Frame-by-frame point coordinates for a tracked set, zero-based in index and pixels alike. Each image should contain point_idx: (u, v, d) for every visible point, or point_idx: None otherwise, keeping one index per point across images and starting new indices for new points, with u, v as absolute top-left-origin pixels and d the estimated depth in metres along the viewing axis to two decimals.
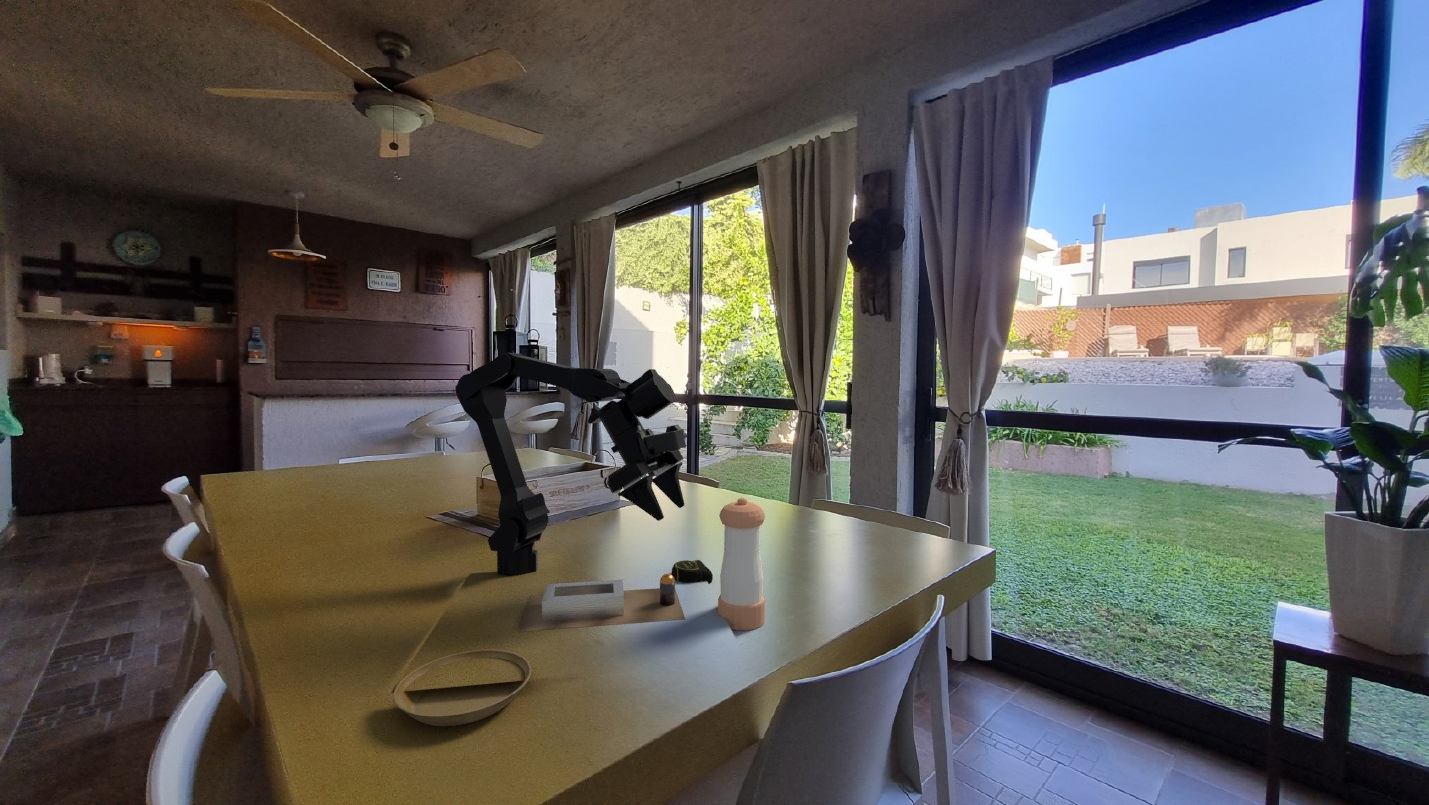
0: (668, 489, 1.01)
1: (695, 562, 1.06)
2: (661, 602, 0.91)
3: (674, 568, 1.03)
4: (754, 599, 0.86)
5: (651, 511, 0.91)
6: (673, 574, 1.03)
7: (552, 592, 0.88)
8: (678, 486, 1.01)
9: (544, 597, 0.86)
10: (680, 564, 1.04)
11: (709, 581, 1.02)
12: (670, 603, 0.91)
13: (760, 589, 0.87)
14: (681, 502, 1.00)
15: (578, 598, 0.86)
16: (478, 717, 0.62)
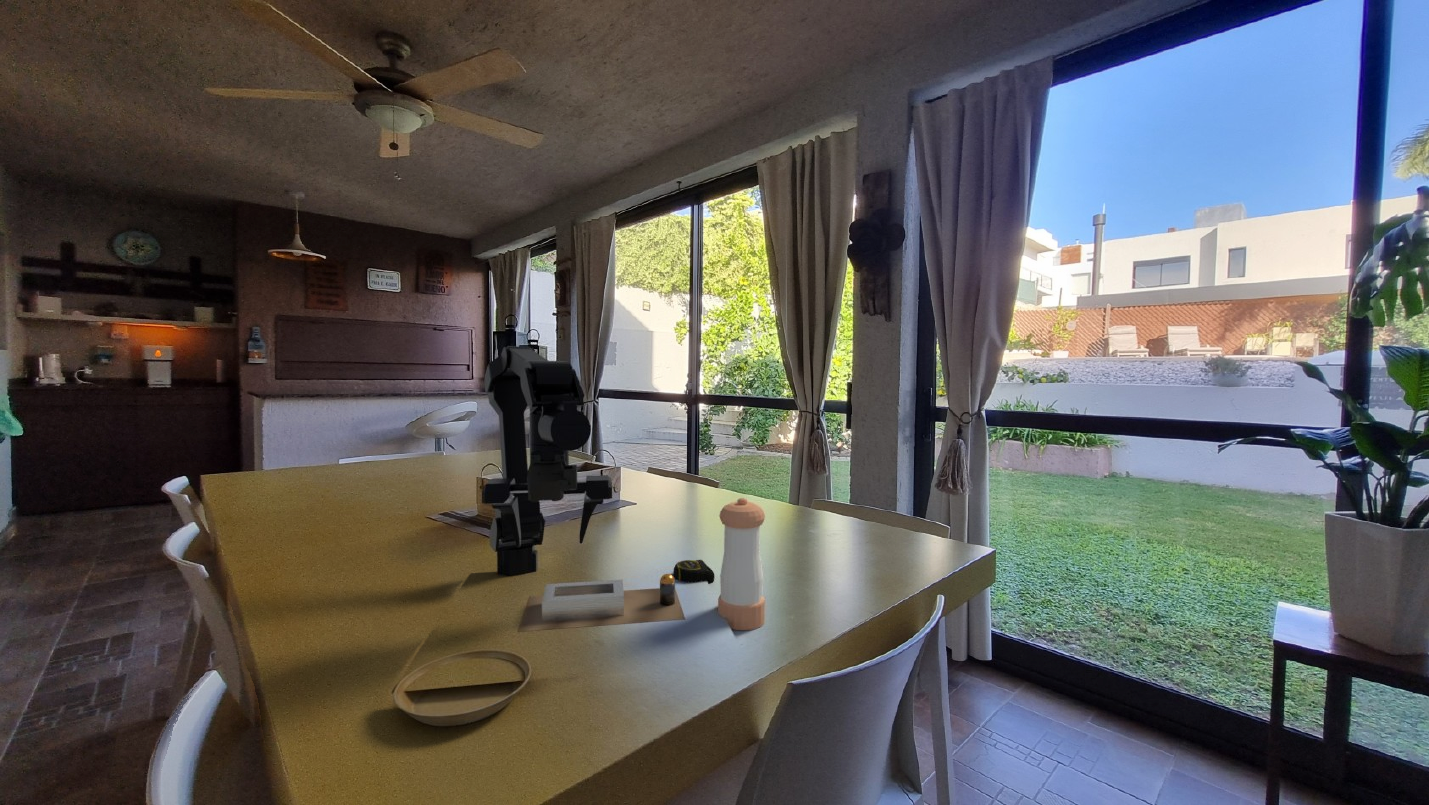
0: None
1: (697, 562, 1.06)
2: (661, 602, 0.91)
3: (676, 568, 1.03)
4: (754, 599, 0.86)
5: None
6: (675, 574, 1.03)
7: (552, 592, 0.88)
8: (583, 522, 0.88)
9: (544, 597, 0.86)
10: (682, 564, 1.05)
11: (711, 581, 1.02)
12: (670, 603, 0.91)
13: (760, 589, 0.87)
14: None
15: (578, 598, 0.86)
16: (478, 717, 0.62)
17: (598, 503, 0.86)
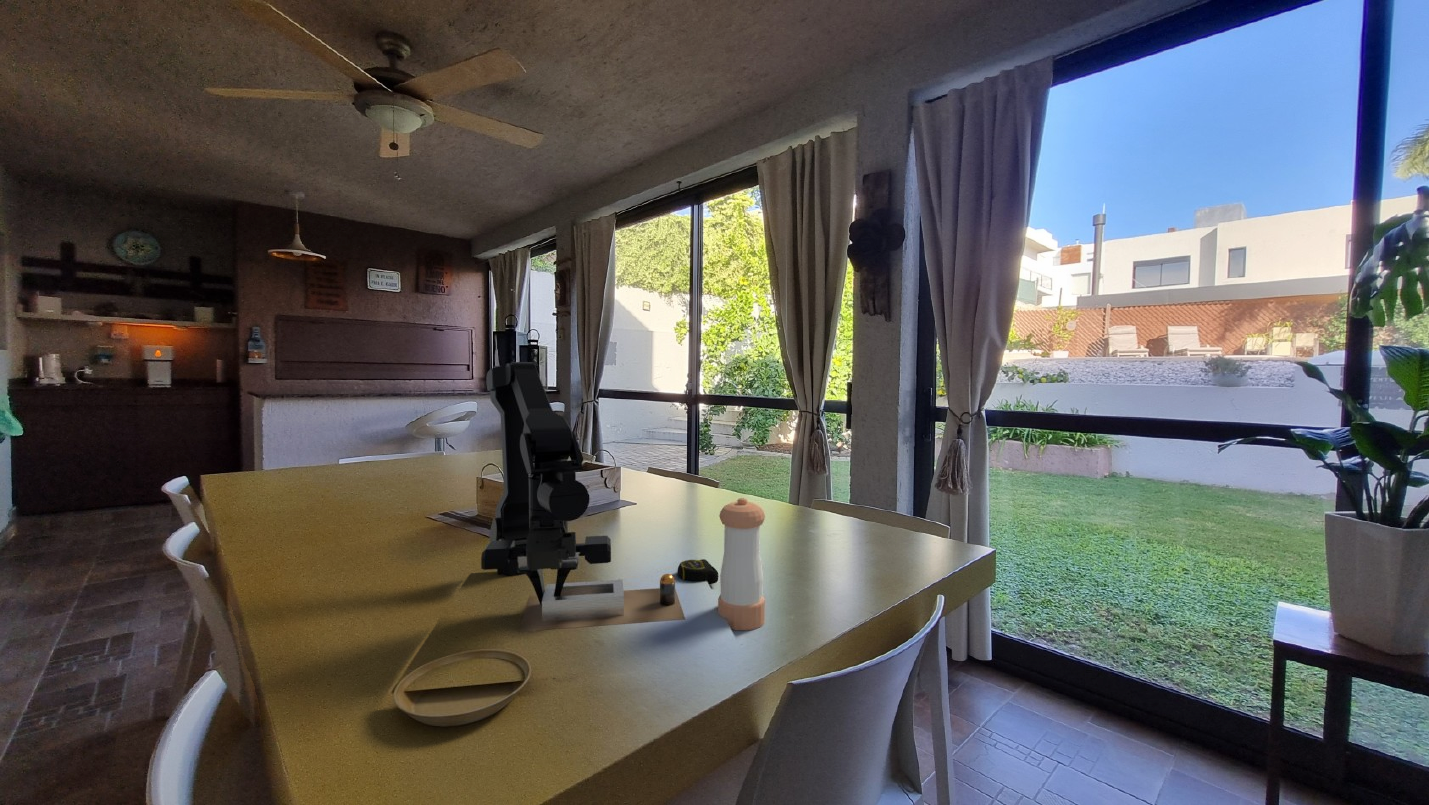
0: None
1: (701, 561, 1.06)
2: (661, 602, 0.91)
3: (680, 567, 1.03)
4: (754, 599, 0.86)
5: None
6: (679, 573, 1.03)
7: (552, 592, 0.88)
8: (557, 587, 0.87)
9: (544, 597, 0.86)
10: (686, 563, 1.05)
11: (715, 580, 1.02)
12: (670, 603, 0.91)
13: (760, 589, 0.87)
14: None
15: (578, 598, 0.86)
16: (478, 717, 0.62)
17: (572, 568, 0.86)
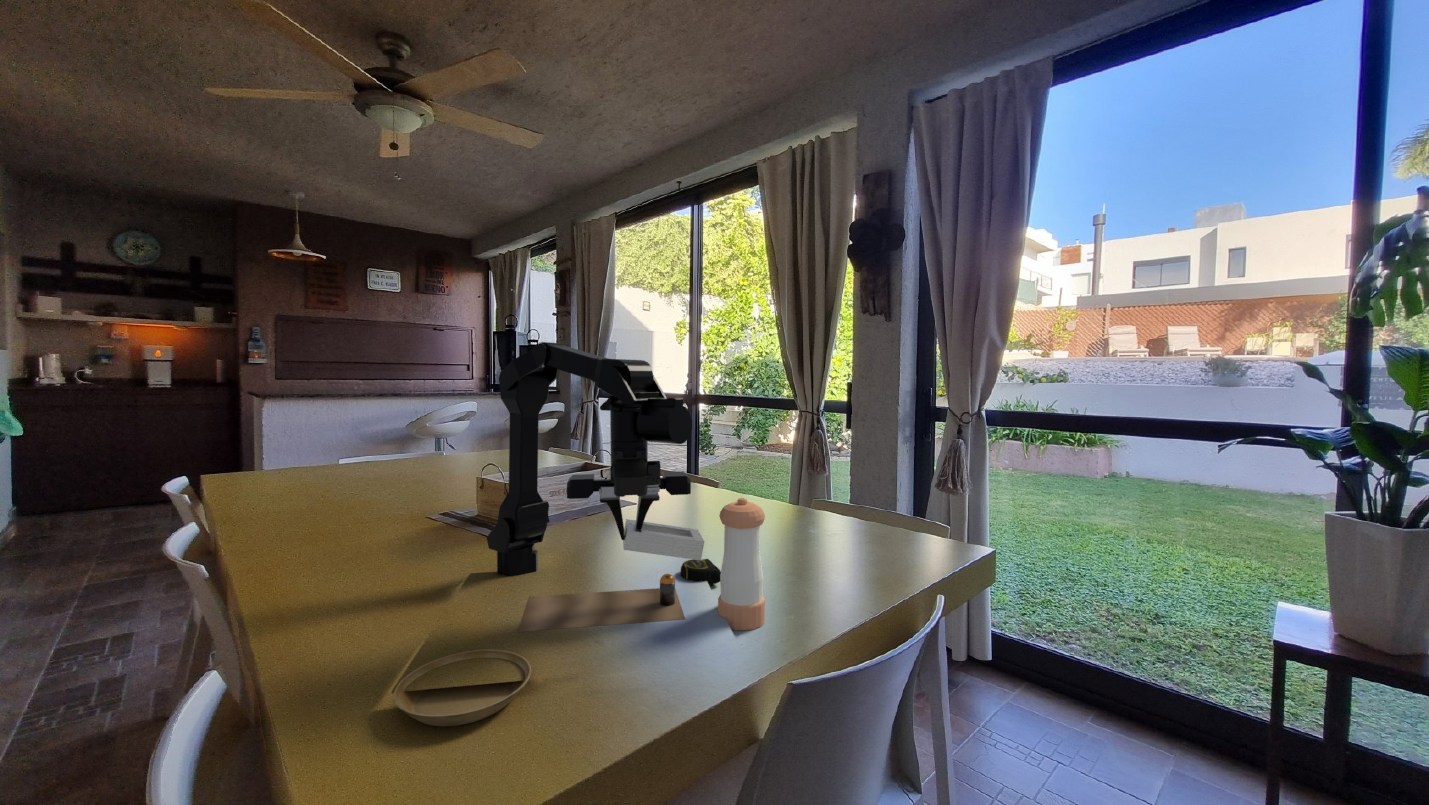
0: (638, 513, 0.91)
1: (704, 561, 1.07)
2: (661, 602, 0.91)
3: (683, 567, 1.03)
4: (754, 599, 0.86)
5: None
6: (682, 573, 1.03)
7: (634, 526, 0.90)
8: (639, 518, 0.89)
9: (628, 528, 0.88)
10: (689, 563, 1.05)
11: (718, 580, 1.02)
12: (670, 603, 0.91)
13: (760, 589, 0.87)
14: None
15: (661, 535, 0.87)
16: (478, 717, 0.62)
17: (655, 499, 0.87)
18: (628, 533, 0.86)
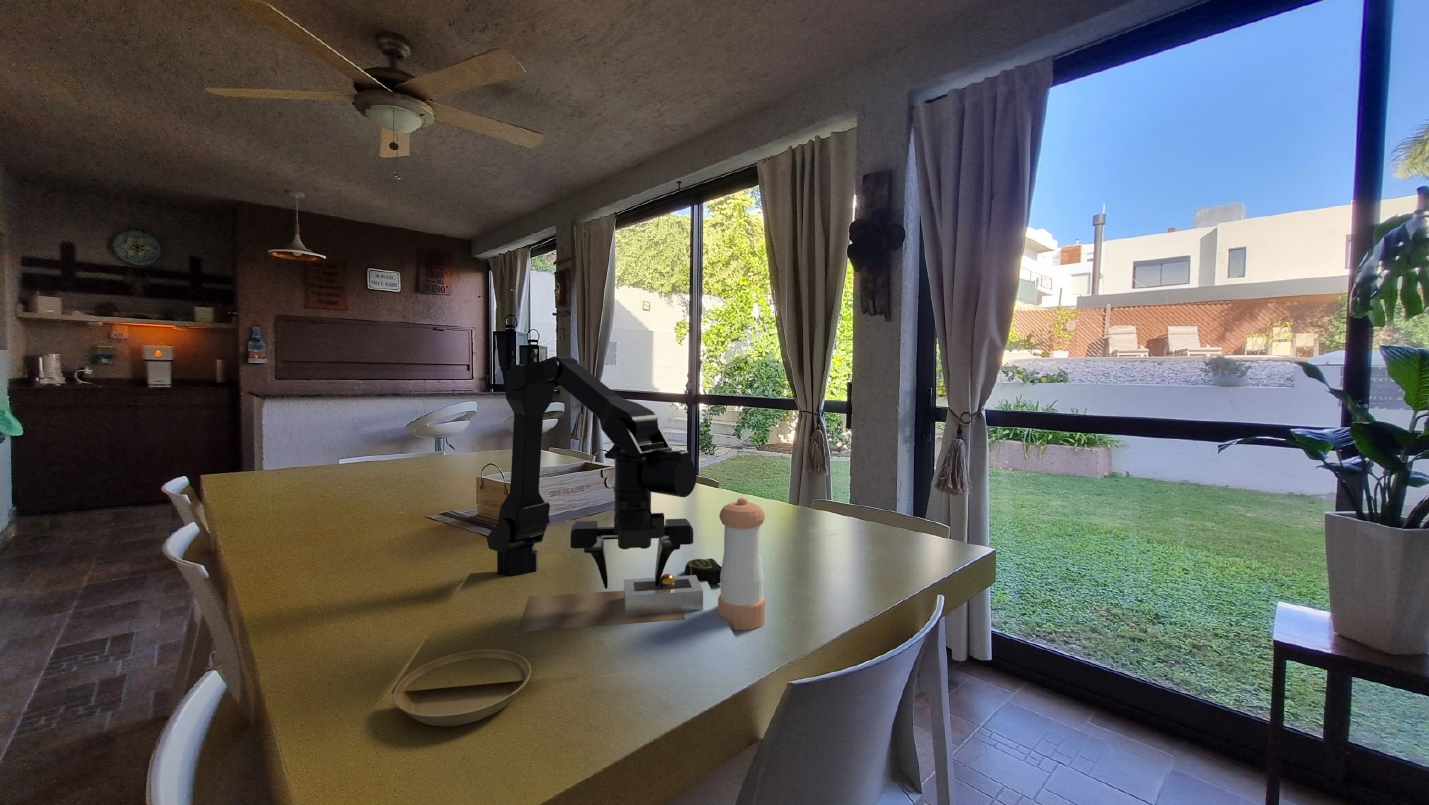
0: (658, 559, 0.92)
1: (708, 560, 1.07)
2: None
3: (687, 566, 1.04)
4: (754, 599, 0.86)
5: None
6: (687, 572, 1.03)
7: (632, 587, 0.90)
8: (659, 566, 0.90)
9: (626, 592, 0.88)
10: (693, 562, 1.05)
11: None
12: None
13: (760, 589, 0.87)
14: (655, 581, 0.91)
15: (659, 593, 0.88)
16: (478, 717, 0.62)
17: (676, 548, 0.89)
18: (627, 598, 0.87)
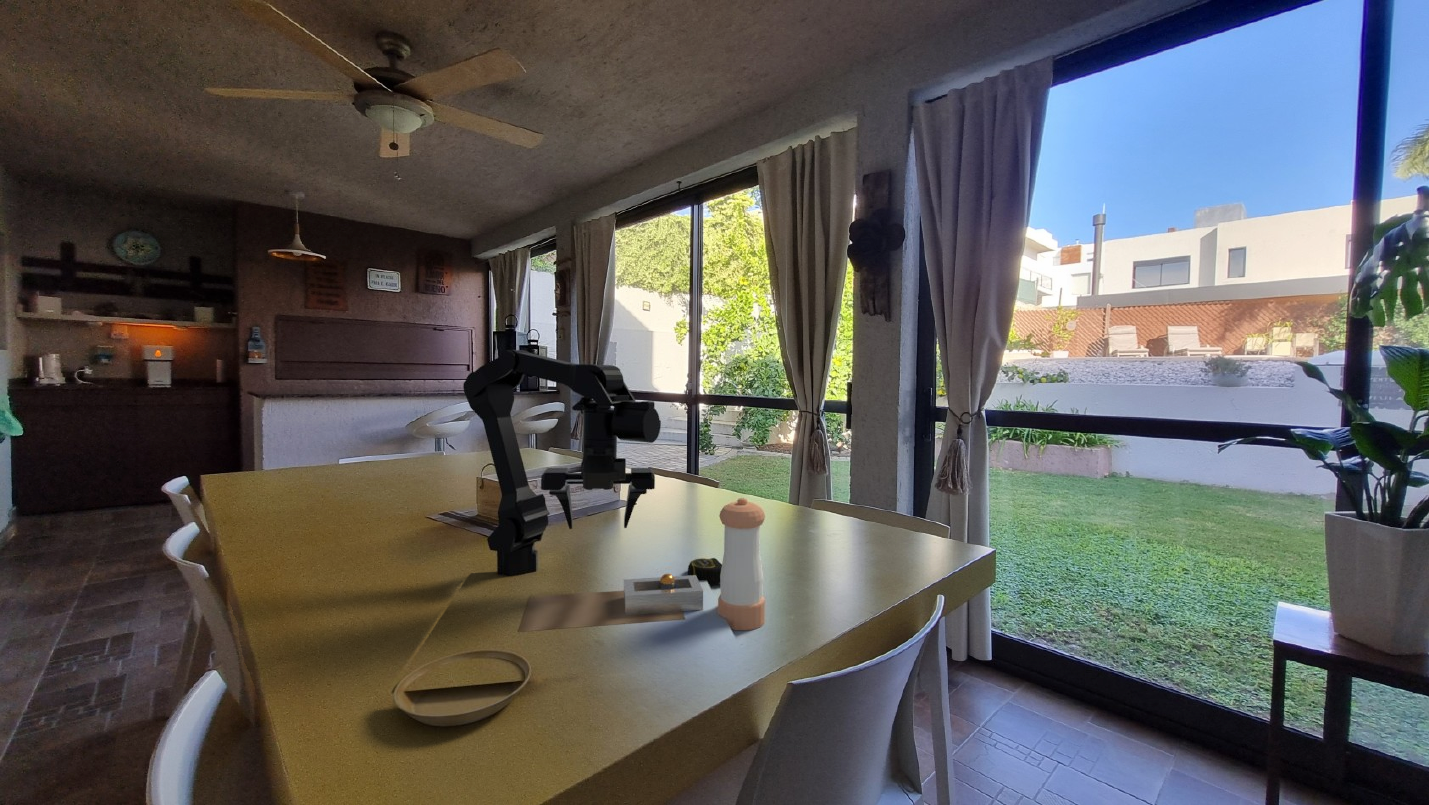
0: (627, 504, 1.00)
1: (711, 560, 1.07)
2: None
3: (690, 566, 1.04)
4: (754, 599, 0.86)
5: None
6: (690, 572, 1.04)
7: (632, 587, 0.90)
8: (628, 509, 0.98)
9: (626, 592, 0.88)
10: (696, 562, 1.06)
11: None
12: None
13: (760, 589, 0.87)
14: (624, 524, 0.99)
15: (659, 593, 0.88)
16: (478, 717, 0.62)
17: (642, 493, 0.97)
18: (627, 598, 0.87)
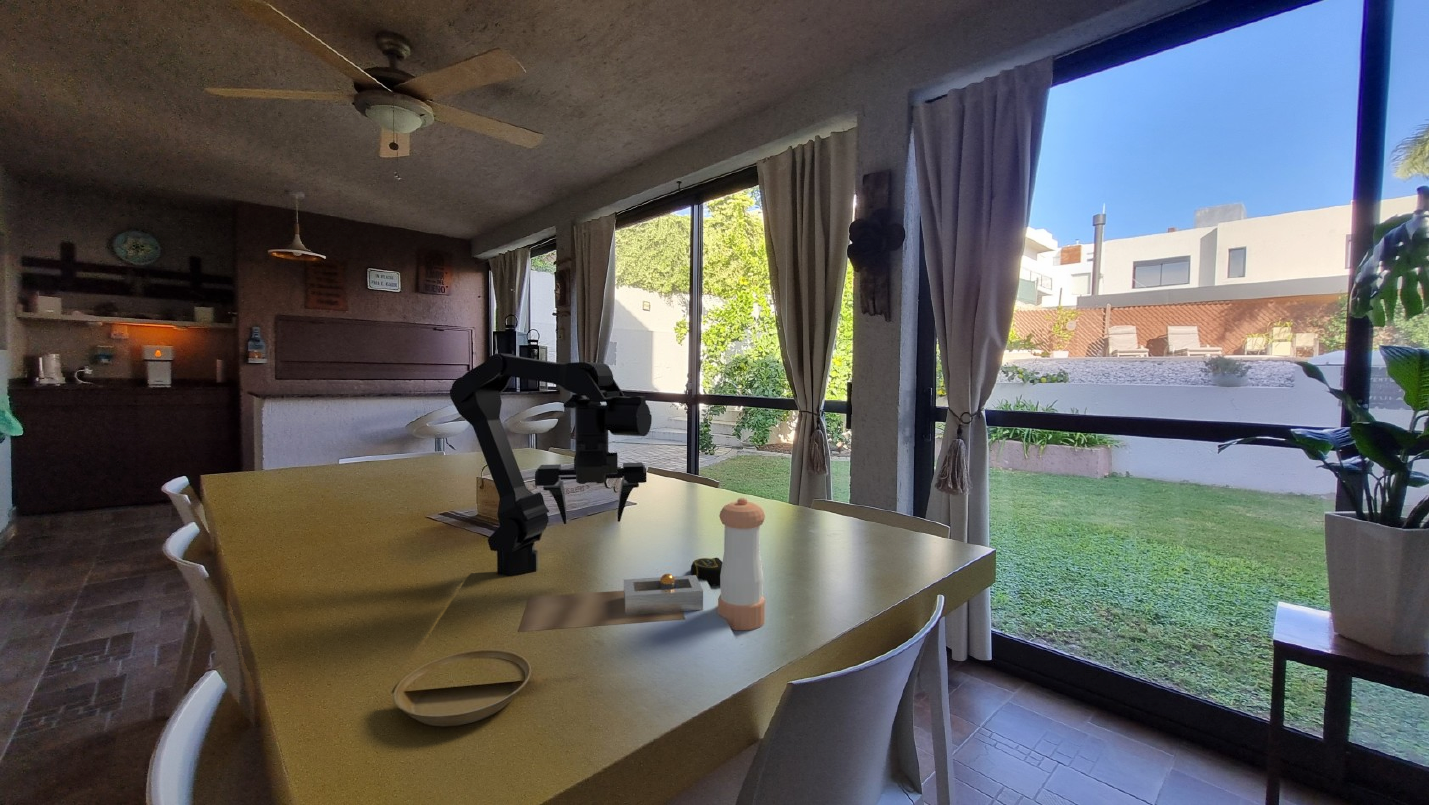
0: (620, 498, 1.02)
1: (714, 560, 1.07)
2: None
3: (693, 566, 1.04)
4: (754, 599, 0.86)
5: None
6: (692, 572, 1.04)
7: (632, 587, 0.90)
8: (620, 503, 1.00)
9: (626, 592, 0.88)
10: (699, 562, 1.06)
11: None
12: None
13: (760, 589, 0.87)
14: (617, 517, 1.01)
15: (659, 593, 0.88)
16: (478, 717, 0.62)
17: (634, 486, 0.99)
18: (627, 598, 0.87)
